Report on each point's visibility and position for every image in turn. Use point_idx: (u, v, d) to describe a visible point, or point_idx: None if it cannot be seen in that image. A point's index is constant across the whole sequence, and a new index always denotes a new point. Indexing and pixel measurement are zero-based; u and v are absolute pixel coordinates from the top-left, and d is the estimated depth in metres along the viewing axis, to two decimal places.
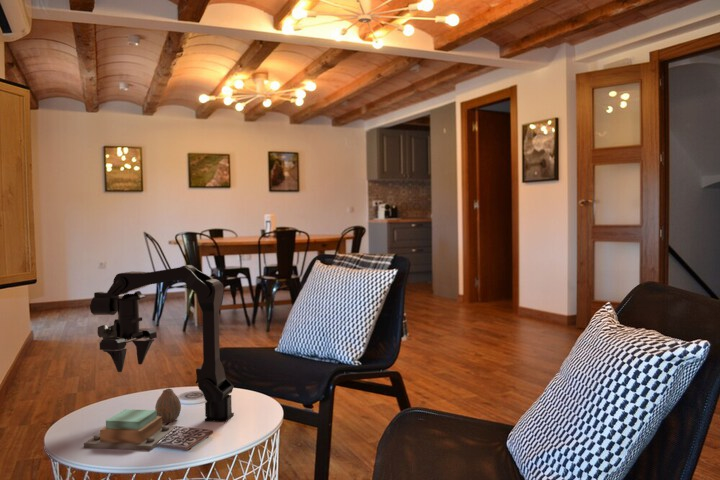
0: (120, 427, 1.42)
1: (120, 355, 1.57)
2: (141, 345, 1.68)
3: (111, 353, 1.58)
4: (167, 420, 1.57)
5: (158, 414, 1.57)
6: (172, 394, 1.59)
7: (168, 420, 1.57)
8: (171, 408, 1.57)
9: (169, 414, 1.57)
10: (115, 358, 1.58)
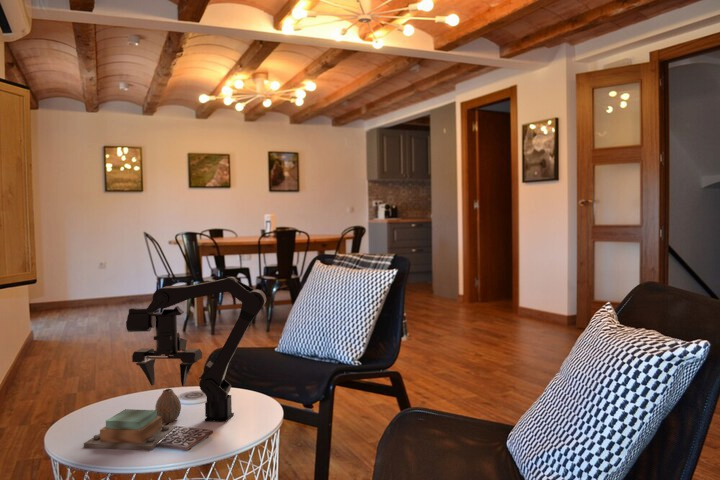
0: (120, 427, 1.42)
1: None
2: None
3: None
4: (167, 420, 1.57)
5: (158, 414, 1.57)
6: (172, 394, 1.59)
7: (168, 420, 1.57)
8: (171, 408, 1.57)
9: (169, 414, 1.57)
10: None
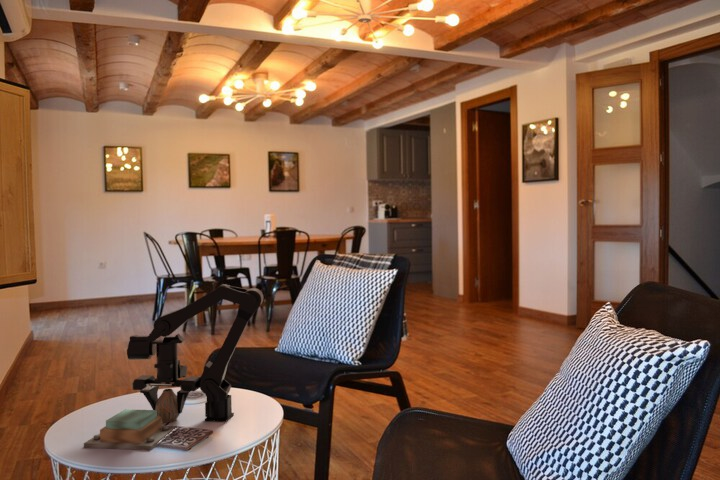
0: (120, 427, 1.42)
1: None
2: None
3: None
4: (167, 420, 1.57)
5: (158, 414, 1.57)
6: (172, 394, 1.59)
7: (168, 420, 1.57)
8: (171, 408, 1.57)
9: (169, 414, 1.57)
10: None
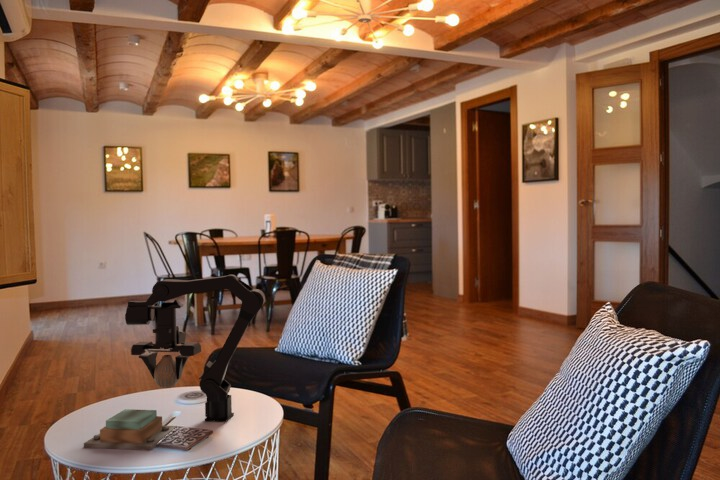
0: (120, 427, 1.42)
1: None
2: None
3: None
4: (165, 386, 1.57)
5: (157, 379, 1.56)
6: (172, 360, 1.58)
7: (167, 386, 1.57)
8: (170, 374, 1.56)
9: (167, 380, 1.56)
10: None
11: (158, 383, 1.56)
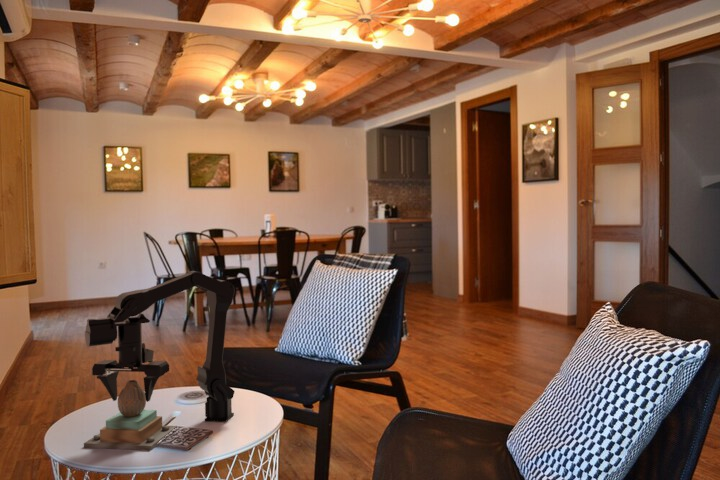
0: (120, 427, 1.42)
1: None
2: None
3: None
4: (130, 414, 1.44)
5: (120, 407, 1.43)
6: (137, 386, 1.46)
7: (132, 414, 1.44)
8: (134, 401, 1.43)
9: (132, 408, 1.43)
10: None
11: (122, 411, 1.43)
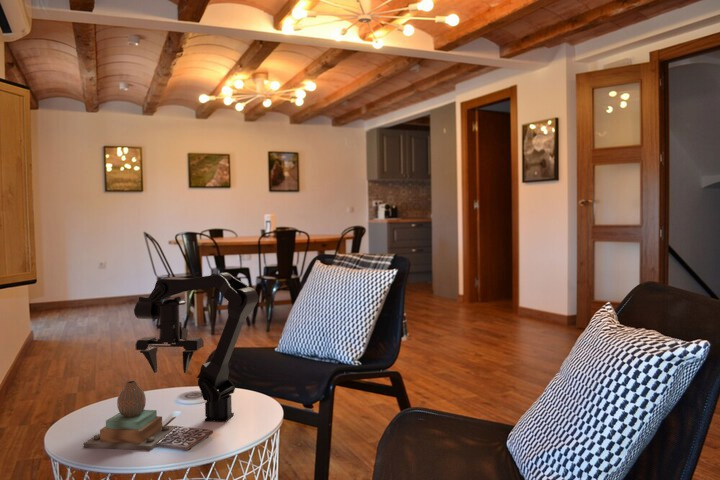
0: (120, 427, 1.42)
1: None
2: None
3: None
4: (130, 415, 1.44)
5: (120, 408, 1.43)
6: (136, 386, 1.45)
7: (132, 415, 1.44)
8: (134, 402, 1.43)
9: (132, 409, 1.43)
10: None
11: (122, 412, 1.43)
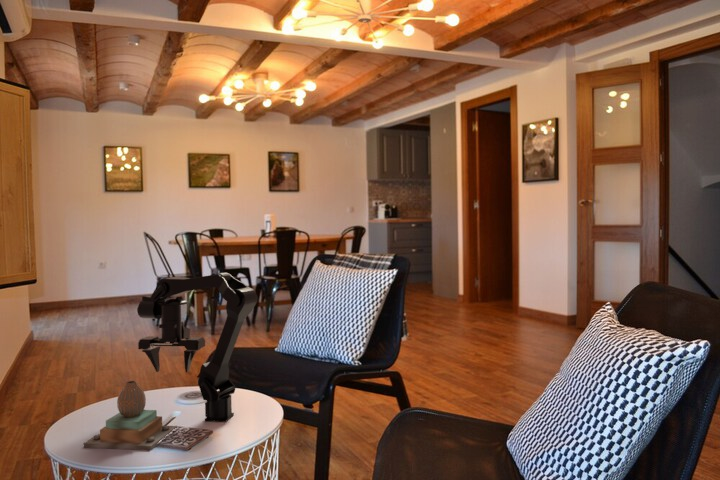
0: (120, 427, 1.42)
1: None
2: None
3: None
4: (130, 415, 1.44)
5: (120, 408, 1.43)
6: (136, 386, 1.45)
7: (132, 415, 1.44)
8: (134, 402, 1.43)
9: (132, 409, 1.43)
10: None
11: (122, 412, 1.43)
